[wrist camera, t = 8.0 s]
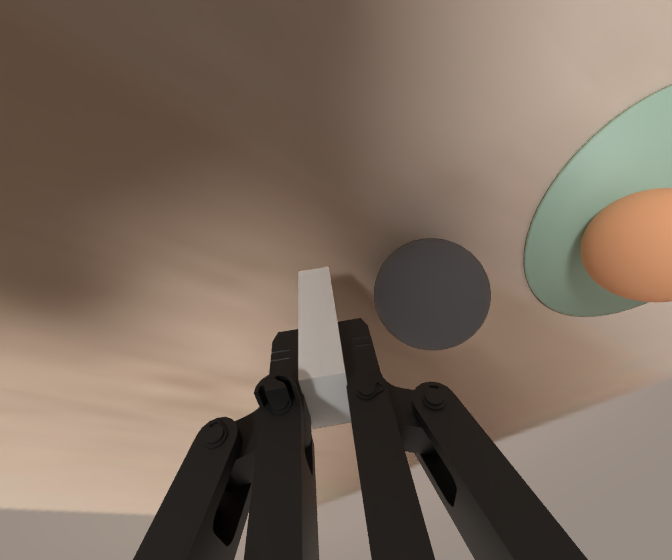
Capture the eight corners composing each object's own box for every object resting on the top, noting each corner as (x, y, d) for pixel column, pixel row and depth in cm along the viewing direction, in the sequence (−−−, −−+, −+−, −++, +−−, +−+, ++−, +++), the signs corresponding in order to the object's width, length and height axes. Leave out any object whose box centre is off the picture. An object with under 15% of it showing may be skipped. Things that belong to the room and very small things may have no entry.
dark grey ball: (485, 380, 15) (465, 303, 19) (524, 289, 11) (489, 221, 16) (368, 367, 16) (374, 296, 20) (372, 278, 12) (379, 216, 17)
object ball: (675, 343, 14) (725, 293, 16) (745, 229, 11) (796, 185, 13) (547, 289, 18) (600, 255, 20) (572, 196, 15) (631, 167, 17)
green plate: (504, 329, 22) (506, 331, 21) (559, 95, 14) (563, 95, 14) (702, 296, 22) (705, 298, 22) (866, 48, 14) (873, 47, 14)
